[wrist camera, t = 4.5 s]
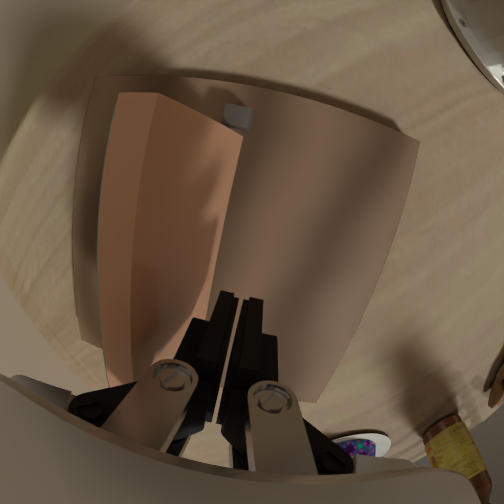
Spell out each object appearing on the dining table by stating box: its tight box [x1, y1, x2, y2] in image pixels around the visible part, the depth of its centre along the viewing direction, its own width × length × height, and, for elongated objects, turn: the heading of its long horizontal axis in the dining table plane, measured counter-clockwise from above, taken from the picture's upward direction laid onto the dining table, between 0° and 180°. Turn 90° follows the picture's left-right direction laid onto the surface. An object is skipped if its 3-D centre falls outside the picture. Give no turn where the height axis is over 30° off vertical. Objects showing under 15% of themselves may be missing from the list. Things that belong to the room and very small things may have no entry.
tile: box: [97, 92, 243, 388], centre depth 10 cm, size 8×14×1 cm
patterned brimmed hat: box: [332, 433, 391, 457], centre depth 22 cm, size 12×12×5 cm
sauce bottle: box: [423, 414, 492, 504], centre depth 13 cm, size 6×6×20 cm
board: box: [73, 75, 420, 403], centre depth 15 cm, size 20×20×3 cm
